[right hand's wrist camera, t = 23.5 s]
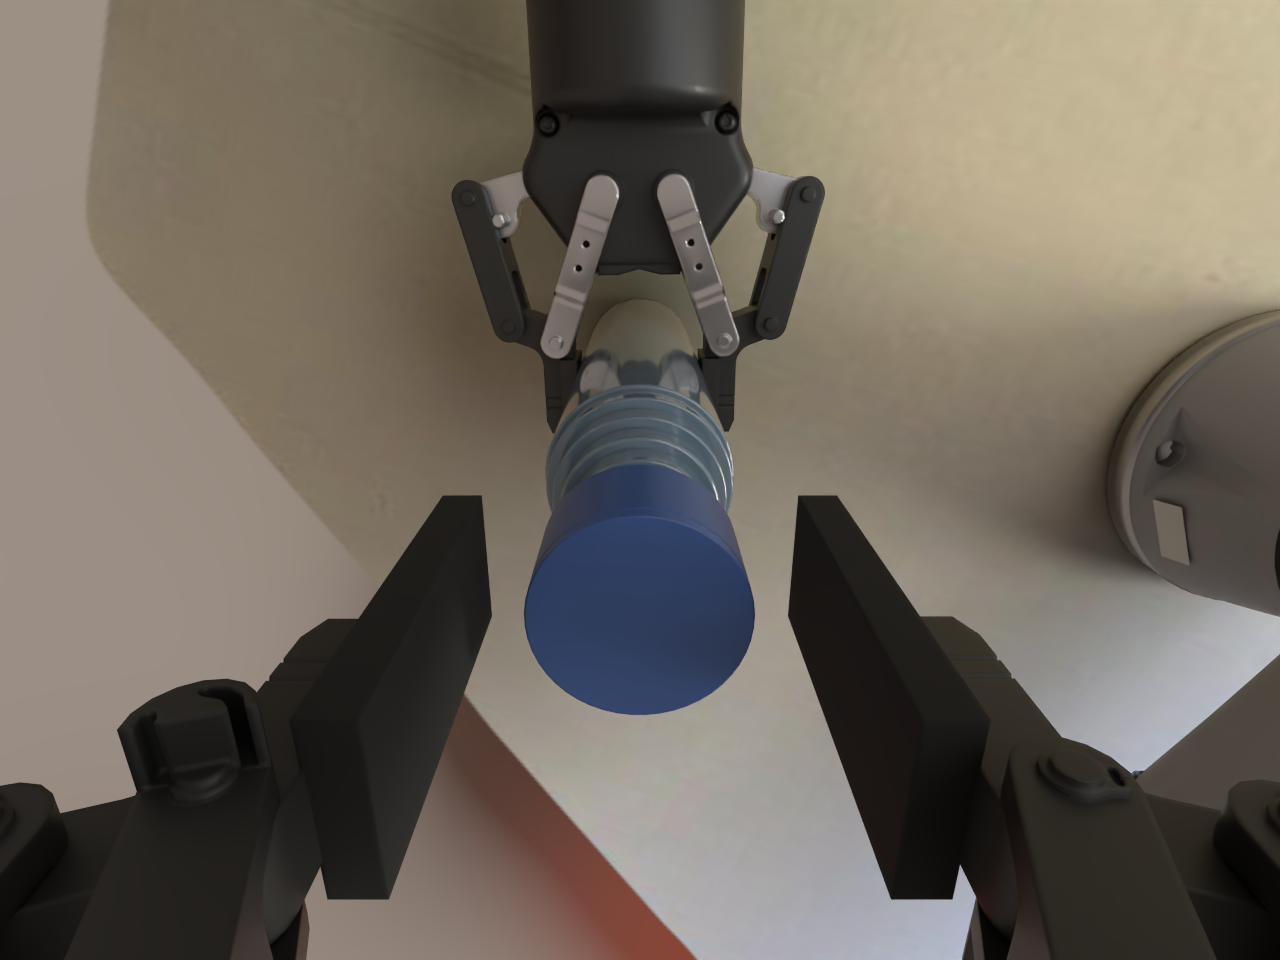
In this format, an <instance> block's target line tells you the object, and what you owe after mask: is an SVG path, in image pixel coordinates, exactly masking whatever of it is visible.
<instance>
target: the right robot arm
mask: <svg viewBox="0 0 1280 960" xmlns="http://www.w3.org/2000/svg"><path fill="white" fill-rule="evenodd" d="M1107 499H1108V506H1109V511H1110V515H1111V518H1112V521H1113V524H1114V526H1115V529H1116V531H1117V533H1118V535H1119V537H1120V538H1121V540H1122V541H1123V543H1124V544H1125V546H1126V547H1127V548H1128V549H1129V550H1130V552H1131V553H1132V554H1133V555H1134V556H1135V557H1136V558H1137V559H1139V560H1140V561H1141V562H1142V563H1144V564H1145V565H1146V566H1148V567H1149V568H1151V569H1152V570H1153V571H1155V572H1156V573H1158V574H1159V575H1161V576H1162V577H1163V578H1165V579H1166V580H1168V581H1169V582H1170V583H1172V584H1174V585H1176V586H1178V587H1179V588H1181V589H1183V590H1186V591H1188V592H1191V593H1193V594H1197V595H1200V596H1203V597H1208V598H1212V599H1215V600H1222V601H1226V602H1229V603H1232V604H1236V605H1239V606H1243V607H1246V608H1250V609H1253V610H1257V611H1261V612H1264V613H1268V614H1272V615H1275V616H1279V617H1280V310H1277V311H1272V312H1267V313H1263V314H1259V315H1256V316H1252V317H1249V318H1246V319H1243V320H1241V321H1238V322H1235V323H1233V324H1231V325H1228V326H1226V327H1224V328H1222V329H1220V330H1218V331H1216V332H1214V333H1212V334H1211V335H1209V336H1207V337H1205V338H1204V339H1202V340H1200V341H1199V342H1197V343H1196V344H1194V345H1193V346H1191V347H1190V348H1188V349H1187V350H1186V351H1185V352H1183V353H1182V354H1181V355H1179V356H1178V357H1177V358H1176V359H1174V360H1173V361H1172V362H1171V363H1170V364H1169V365H1168V366H1167V367H1166V368H1165V369H1163V370H1162V371H1161V372H1160V374H1159V375H1158V376H1157V377H1156V378H1155V379H1154V380H1153V381H1152V382H1151V383H1150V384H1149V386H1148V387H1147V388H1146V389H1145V391H1144V392H1143V393H1142V394H1141V396H1140V397H1139V398H1138V400H1137V401H1136V403H1135V404H1134V406H1133V407H1132V409H1131V410H1130V412H1129V414H1128V416H1127V417H1126V419H1125V421H1124V423H1123V425H1122V427H1121V429H1120V432H1119V434H1118V436H1117V439H1116V442H1115V444H1114V447H1113V450H1112V454H1111V458H1110V462H1109V468H1108V475H1107ZM491 617H492V611H491V599H490V588H489V576H488V564H487V552H486V541H485V529H484V517H483V506H482V496H442V498H441V499H440V501H439V502H438V504H437V505H436V507H435V508H434V509H433V511H432V512H431V514H430V515H429V517H428V518H427V520H426V521H425V523H424V524H423V526H422V527H421V528H420V530H419V531H418V533H417V534H416V536H415V537H414V539H413V540H412V542H411V543H410V544H409V546H408V547H407V549H406V550H405V552H404V553H403V555H402V556H401V558H400V559H399V560H398V562H397V563H396V565H395V566H394V568H393V569H392V571H391V572H390V574H389V575H388V576H387V578H386V579H385V581H384V582H383V584H382V585H381V587H380V588H379V590H378V591H377V592H376V594H375V595H374V597H373V598H372V600H371V601H370V603H369V604H368V606H367V607H366V609H365V610H364V611H363V613H362V614H361V616H360V617H359V619H327V620H326V621H324V622H323V623H321V624H320V625H318V626H317V627H315V628H314V629H312V630H311V631H309V632H308V633H306V634H305V635H303V636H302V637H300V639H299V640H298V641H297V642H296V644H295V645H294V646H293V647H292V649H291V650H290V651H289V652H288V654H287V655H286V656H285V658H284V661H283V663H280V664H279V665H278V666H277V668H276V669H275V670H274V671H273V673H272V674H271V675H270V679H269V681H265V683H264V684H263V685H262V686H261V688H260V689H259V690H258V692H257V693H256V691H255V690H254V689H253V688H251V687H250V686H249V685H248V684H246V683H245V682H240V681H235V680H230V679H217V680H203V681H200V682H196V683H192V684H188V685H184V686H181V687H177V688H175V689H172V690H170V691H168V692H166V693H164V694H161V695H159V696H157V697H155V698H152V699H151V700H149V701H148V702H146V703H145V704H144V705H142V706H141V707H139V708H138V709H136V710H135V711H134V712H132V713H131V714H130V715H129V716H128V717H127V719H126V720H125V721H124V722H123V723H122V725H121V726H120V727H119V728H118V729H117V731H118V734H119V738H120V741H121V744H122V747H123V750H124V753H125V756H126V759H127V762H128V765H129V768H130V771H131V774H132V778H133V781H134V784H135V787H136V790H137V793H136V795H135V796H132V797H129V798H126V799H122V800H118V801H113V802H109V803H104V804H100V805H95V806H91V807H87V808H83V809H78V810H73V811H69V812H65V813H60V812H59V809H58V807H57V804H56V801H55V799H54V796H53V794H52V793H51V792H50V791H49V790H47V789H46V788H45V787H43V786H42V785H39V784H30V783H15V784H8V785H3V786H0V960H306V955H307V946H308V937H309V922H308V914H307V909H306V905H305V900H304V899H305V897H306V895H307V893H308V891H309V889H310V887H311V885H312V883H313V881H314V879H315V876H316V875H317V872H318V870H319V868H320V866H321V871H322V876H323V880H324V885H325V889H326V894H327V899H389V898H390V895H391V892H392V889H393V886H394V884H395V881H396V878H397V876H398V873H399V870H400V867H401V865H402V862H403V859H404V856H405V854H406V851H407V848H408V845H409V843H410V840H411V837H412V834H413V832H414V829H415V826H416V823H417V821H418V818H419V815H420V812H421V809H422V807H423V804H424V801H425V799H426V796H427V793H428V790H429V787H430V785H431V782H432V779H433V777H434V774H435V771H436V768H437V766H438V763H439V760H440V757H441V755H442V752H443V749H444V746H445V743H446V741H447V738H448V735H449V732H450V730H451V727H452V724H453V722H454V719H455V716H456V713H457V711H458V708H459V705H460V702H461V700H462V697H463V694H464V691H465V689H466V686H467V683H468V680H469V678H470V675H471V672H472V669H473V667H474V664H475V661H476V658H477V656H478V653H479V650H480V647H481V645H482V642H483V639H484V636H485V634H486V631H487V628H488V625H489V623H490V620H491ZM788 617H789V620H790V623H791V625H792V628H793V631H794V634H795V636H796V639H797V642H798V645H799V647H800V650H801V653H802V656H803V658H804V661H805V664H806V667H807V669H808V672H809V675H810V678H811V680H812V683H813V686H814V689H815V691H816V694H817V697H818V700H819V702H820V705H821V708H822V711H823V713H824V716H825V719H826V722H827V724H828V727H829V730H830V733H831V735H832V738H833V741H834V744H835V746H836V749H837V752H838V755H839V757H840V760H841V763H842V766H843V768H844V771H845V774H846V777H847V779H848V782H849V785H850V788H851V790H852V793H853V796H854V799H855V801H856V804H857V807H858V810H859V812H860V815H861V818H862V821H863V823H864V826H865V829H866V832H867V834H868V837H869V840H870V843H871V845H872V848H873V851H874V854H875V856H876V859H877V862H878V865H879V867H880V870H881V873H882V876H883V878H884V881H885V884H886V887H887V889H888V892H889V895H890V898H891V899H953V894H954V890H955V885H956V880H957V876H958V871H959V866H960V865H961V867H962V869H963V871H964V873H965V875H966V877H967V879H968V881H969V883H970V885H971V887H972V889H973V891H974V893H975V895H976V900H975V905H974V909H973V913H972V918H971V922H970V926H969V931H968V935H967V939H966V944H965V948H964V952H963V957H962V960H1280V655H1279V656H1277V657H1276V658H1275V659H1274V660H1273V661H1272V662H1271V663H1269V664H1268V665H1267V666H1266V667H1265V668H1264V669H1263V670H1262V671H1260V672H1259V673H1258V674H1257V675H1256V676H1255V677H1254V678H1252V679H1251V680H1250V681H1249V682H1248V683H1247V684H1246V685H1244V686H1243V687H1242V688H1241V689H1240V690H1239V691H1238V692H1237V693H1235V694H1234V695H1233V696H1232V697H1231V698H1230V699H1229V700H1227V701H1226V702H1225V703H1224V704H1223V705H1222V706H1221V707H1219V708H1218V709H1217V710H1216V711H1215V712H1214V713H1213V714H1211V715H1210V716H1209V717H1208V718H1207V719H1206V720H1204V721H1203V722H1202V723H1201V724H1200V725H1198V726H1197V727H1196V728H1195V729H1194V730H1192V731H1191V732H1190V733H1189V734H1188V735H1186V736H1185V737H1184V738H1183V739H1182V740H1181V741H1179V742H1178V743H1177V744H1176V745H1175V746H1173V747H1172V748H1171V749H1170V750H1169V751H1167V752H1166V753H1165V754H1164V755H1163V756H1161V757H1160V758H1159V759H1158V760H1157V761H1156V762H1154V763H1153V764H1152V765H1151V766H1150V767H1148V768H1147V769H1146V770H1145V771H1134V772H1133V773H1132V774H1131V773H1130V772H1129V771H1127V770H1126V769H1125V768H1124V767H1122V766H1121V765H1120V764H1119V763H1118V762H1116V761H1115V760H1114V759H1113V758H1111V757H1110V756H1108V755H1106V754H1104V753H1102V752H1100V751H1098V750H1096V749H1094V748H1092V747H1090V746H1088V745H1086V744H1082V743H1079V742H1076V741H1072V740H1069V739H1066V738H1062V737H1061V736H1060V735H1059V733H1058V732H1057V731H1056V730H1055V728H1054V727H1053V726H1052V725H1051V723H1050V722H1049V721H1048V720H1047V718H1046V717H1045V716H1044V715H1043V713H1042V712H1041V711H1040V710H1039V708H1038V707H1037V706H1036V705H1035V703H1034V702H1033V701H1032V700H1031V698H1030V697H1029V696H1028V695H1027V693H1026V692H1025V691H1024V690H1023V688H1022V687H1021V686H1020V685H1019V683H1018V682H1017V681H1016V679H1012V678H1011V673H1010V672H1009V671H1008V669H1007V668H1006V667H1005V666H1004V664H1003V663H1002V662H1001V661H1000V660H997V656H996V654H995V653H994V652H993V651H992V649H991V648H990V647H989V646H988V644H987V643H986V642H985V641H984V639H983V638H982V637H981V636H980V635H979V634H978V633H976V632H975V631H973V630H972V629H970V628H969V627H967V626H966V625H964V624H963V623H961V622H960V621H958V620H957V619H955V618H954V617H920V616H919V614H918V613H917V611H916V610H915V609H914V607H913V606H912V604H911V603H910V601H909V600H908V598H907V597H906V595H905V594H904V592H903V591H902V590H901V588H900V587H899V585H898V584H897V582H896V581H895V579H894V578H893V576H892V575H891V574H890V572H889V571H888V569H887V568H886V566H885V565H884V563H883V562H882V560H881V559H880V558H879V556H878V555H877V553H876V552H875V550H874V549H873V547H872V546H871V544H870V543H869V542H868V540H867V539H866V537H865V536H864V534H863V533H862V531H861V530H860V528H859V527H858V526H857V524H856V523H855V521H854V520H853V518H852V517H851V515H850V514H849V512H848V511H847V509H846V508H845V507H844V505H843V504H842V502H841V501H840V499H839V498H838V496H798V506H797V517H796V529H795V541H794V552H793V564H792V576H791V588H790V599H789V611H788Z"/></svg>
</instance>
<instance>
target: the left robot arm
mask: <svg viewBox="0 0 1280 960" xmlns="http://www.w3.org/2000/svg"><path fill="white" fill-rule="evenodd" d="M526 5H527V23H528V39H529V56H530V73H531V89H532V106H533V123H534V131H533V139H532V144H531V147H530V150H529V153H528V155H527V157H526V159H525V161H524V165H523V170H522V171H520V172H516V173H513V174H509V175H505V176H502V177H498V178H495V179H491V180H488V181H484V182H476V181H470V180H464V181H461V182H459V183H458V184H456V186H455V187H454V188H453V191H452V202H453V205H454V208H455V212H456V215H457V218H458V221H459V224H460V227H461V230H462V233H463V236H464V239H465V243H466V246H467V249H468V252H469V255H470V258H471V261H472V264H473V267H474V270H475V273H476V277H477V280H478V283H479V286H480V289H481V292H482V295H483V298H484V301H485V304H486V308H487V311H488V314H489V317H490V320H491V323H492V326H493V329H494V332H495V334H496V336H497V337H498V338H499V339H501V340H502V341H505V342H516V343H519V344H522V345H525V346H528V347H530V348H533V349H534V350H536V351H537V352H538V353H539V354H540V356H541V358H542V360H543V363H544V377H545V393H546V407H547V409H546V410H547V422H548V424H549V426H550V428H551V431H552V433H555V431H556V428H557V426H558V423H559V421H560V418H561V415H562V413H563V410H564V407H565V405H566V402H567V400H568V397H569V394H570V392H571V389H572V386H573V384H574V381H575V379H576V376H577V373H578V371H579V368H580V365H581V363H582V350H576V336H577V333H578V330H579V327H580V324H581V321H582V318H583V315H584V312H585V309H586V305H587V302H588V299H589V297H590V294H591V291H592V288H593V285H594V282H595V279H596V275H597V273H598V275H620V274H624V273H627V272H630V271H634V270H637V269H641V270H645V271H649V272H653V273H656V274H680V272H682V275H683V278H684V281H685V284H686V286H687V289H688V292H689V295H690V297H691V300H692V303H693V306H694V308H695V311H696V314H697V317H698V320H699V323H700V325H701V328H702V331H703V349H698V363H699V366H700V369H701V371H702V374H703V377H704V379H705V382H706V385H707V387H708V390H709V393H710V395H711V398H712V401H713V403H714V406H715V408H716V411H717V414H718V416H719V419H720V422H721V424H722V427H723V430H724V432H725V431H729V429H730V427H731V425H732V423H733V420H734V398H735V397H734V395H735V368H736V359H737V356H738V354H739V352H740V351H741V350H742V349H743V348H744V347H746V346H748V345H750V344H753V343H755V342H758V341H761V340H763V339H767V340H773V339H776V338H778V337H780V336H781V335H782V334H783V332H784V331H785V328H786V325H787V322H788V318H789V315H790V312H791V308H792V305H793V301H794V298H795V295H796V291H797V288H798V284H799V281H800V278H801V274H802V271H803V267H804V264H805V261H806V257H807V254H808V251H809V247H810V244H811V240H812V237H813V234H814V230H815V227H816V223H817V220H818V217H819V213H820V210H821V206H822V203H823V200H824V195H825V190H824V186H823V184H822V182H821V181H820V180H819V179H817V178H816V177H812V176H802V177H797V178H794V177H790V176H786V175H782V174H778V173H774V172H770V171H766V170H762V169H758V168H754V167H753V163H752V159H751V157H750V155H749V153H748V151H747V149H746V147H745V144H744V141H743V137H742V131H741V103H742V73H743V43H744V13H745V0H526ZM746 195H748V196H750V197H751V198H752V199H753V200H754V202H755V204H756V222H757V225H758V226H759V228H760V229H761V230H763V231H764V232H767V233H769V234H768V237H767V241H766V245H765V248H764V252H763V256H762V259H761V263H760V267H759V270H758V274H757V278H756V281H755V285H754V288H753V292H752V296H751V299H750V303H749V306H747V307H745V308H742V309H740V310H737V311H734V312H732V313H731V310H730V307H729V304H728V301H727V298H726V295H725V291H724V287H723V284H722V281H721V278H720V275H719V272H718V269H717V266H716V263H715V260H714V257H713V254H712V251H711V248H710V245H711V244H712V242H713V241H714V240H715V238H716V237H717V235H718V234H719V232H720V231H721V230H722V228H723V227H724V225H725V224H726V223H727V221H728V220H729V218H730V217H731V215H732V214H733V213H734V211H735V210H736V208H737V207H738V205H739V204H740V203H741V201H742V200H743V198H744V197H745V196H746ZM529 198H531V199H532V201H533V202H534V203H535V205H536V206H537V207H538V209H539V210H540V211H541V213H542V214H543V215H544V217H545V218H546V219H547V221H548V222H549V224H550V225H551V226H552V228H553V229H554V230H555V232H556V233H557V234H558V236H559V237H560V238H561V240H562V241H563V242H564V244H565V245H566V246H567V252H566V255H565V258H564V262H563V265H562V268H561V271H560V275H559V278H558V281H557V285H556V288H555V292H554V298H553V301H552V304H551V308H550V311H549V314H548V315H547V314H544V313H541V312H538V311H535V310H532V309H531V308H530V304H529V301H528V298H527V294H526V291H525V288H524V284H523V281H522V278H521V274H520V271H519V268H518V264H517V261H516V258H515V254H514V251H513V248H512V245H511V241H510V238H509V236H512V235H514V234H516V233H517V232H518V231H519V229H520V227H521V207H522V205H523V203H524V202H525V201H526V200H527V199H529Z"/></svg>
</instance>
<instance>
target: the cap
mask: <svg viewBox="0 0 1280 960" xmlns="http://www.w3.org/2000/svg"><path fill="white" fill-rule="evenodd" d="M754 619H755V610H754V600H753V596H752V591H751V587H750V584H749V581H748V577H747V574H746V570H745V567H744V563H743V560H742V556H741V553H740V550H739V546H738V543H737V539H736V536H735V532H734V529H733V526H732V524H731V521H730V519H729V517H728V515H727V513H726V511H725V509H724V508H723V506H722V505H721V504H720V502H719V501H718V500H717V498H716V497H715V496H714V495H713V494H712V493H711V492H710V491H709V490H708V489H707V488H705V487H704V486H702V485H701V484H700V483H698V482H697V481H696V480H694V479H692V478H690V477H688V476H687V475H685V474H682V473H680V472H677V471H675V470H672V469H668V468H664V467H660V466H652V465H627V466H619V467H615V468H611V469H607V470H605V471H602V472H599V473H597V474H595V475H593V476H591V477H589V478H587V479H585V480H584V481H582V482H581V483H579V484H578V485H577V486H575V487H574V488H573V489H572V490H571V491H570V492H568V493H567V494H566V495H565V496H564V498H563V499H562V500H561V501H560V503H559V504H558V505H557V506H556V508H555V510H554V512H553V513H552V515H551V517H550V519H549V522H548V524H547V526H546V530H545V533H544V536H543V540H542V543H541V547H540V550H539V553H538V557H537V560H536V564H535V567H534V570H533V574H532V577H531V581H530V584H529V587H528V591H527V595H526V599H525V609H524V620H525V629H526V634H527V639H528V641H529V644H530V647H531V650H532V652H533V654H534V656H535V657H536V659H537V661H538V663H539V664H540V666H541V667H542V669H543V670H544V671H545V673H546V674H547V675H548V676H549V677H550V678H551V679H552V680H553V681H554V682H555V683H556V684H557V685H558V686H559V687H561V688H562V689H563V690H564V691H565V692H567V693H568V694H570V695H572V696H573V697H575V698H576V699H578V700H580V701H582V702H584V703H586V704H588V705H591V706H594V707H596V708H599V709H602V710H606V711H610V712H615V713H621V714H629V715H649V714H659V713H664V712H669V711H674V710H677V709H680V708H683V707H686V706H688V705H690V704H693V703H695V702H697V701H699V700H701V699H703V698H704V697H706V696H708V695H709V694H711V693H712V692H713V691H715V690H716V689H717V688H719V687H720V686H721V685H722V684H723V683H724V682H725V681H726V680H727V679H728V678H729V677H730V676H731V675H732V674H733V673H734V671H735V670H736V669H737V667H738V666H739V665H740V663H741V661H742V659H743V657H744V656H745V654H746V652H747V649H748V647H749V644H750V642H751V638H752V634H753V629H754Z"/></svg>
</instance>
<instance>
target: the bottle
mask: <svg viewBox="0 0 1280 960" xmlns="http://www.w3.org/2000/svg"><path fill="white" fill-rule="evenodd" d="M627 465H652V466H660V467H664V468H668V469H672V470H675V471H677V472H680V473H682V474H685V475H687V476H688V477H690V478H692V479H694V480H696V481H697V482H698V483H700V484H701V485H702V486H704V487H705V488H707V489H708V490H709V491H710V492H711V493H712V494H713V495H714V496H715V497H716V498H717V500H718V501H719V502H720V504H721V505H722V506H723V508H724V509H725V511H726V513H728V510H729V508H730V504H731V499H732V493H733V479H734V466H733V458H732V453H731V449H730V446H729V443H728V440H727V438H726V435H725V432H724V430H723V427H722V424H721V422H720V419H719V416H718V414H717V411H716V408H715V406H714V403H713V401H712V398H711V395H710V393H709V390H708V387H707V385H706V382H705V379H704V377H703V374H702V371H701V369H700V366H699V363H698V361H697V358H696V355H695V353H694V350H693V347H692V345H691V342H690V339H689V337H688V334H687V331H686V329H685V327H684V325H683V323H682V321H681V320H680V319H679V317H678V316H677V315H676V314H675V313H674V312H673V311H672V310H671V309H669V308H668V307H666V306H665V305H663V304H661V303H659V302H656V301H652V300H647V299H632V300H628V301H624V302H622V303H619V304H617V305H615V306H614V307H612V308H611V309H609V310H608V311H607V312H606V313H605V314H604V315H603V316H602V317H601V319H600V320H599V321H598V323H597V325H596V326H595V329H594V331H593V334H592V336H591V339H590V342H589V344H588V347H587V350H586V352H585V355H584V357H583V360H582V363H581V365H580V368H579V371H578V373H577V376H576V379H575V381H574V384H573V386H572V389H571V392H570V394H569V397H568V400H567V402H566V405H565V407H564V410H563V413H562V415H561V418H560V421H559V423H558V426H557V428H556V431H555V434H554V436H553V439H552V442H551V444H550V447H549V451H548V455H547V461H546V484H547V496H548V502H549V506H550V509H551V512H552V513H553V512H554V510H555V508H556V506H557V505H558V504H559V503H560V501H561V500H562V499H563V498H564V496H565V495H566V494H567V493H568V492H570V491H571V490H572V489H573V488H574V487H575V486H577V485H578V484H579V483H581V482H582V481H584V480H585V479H587V478H589V477H591V476H593V475H595V474H597V473H599V472H602V471H605V470H607V469H611V468H615V467H619V466H627Z"/></svg>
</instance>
